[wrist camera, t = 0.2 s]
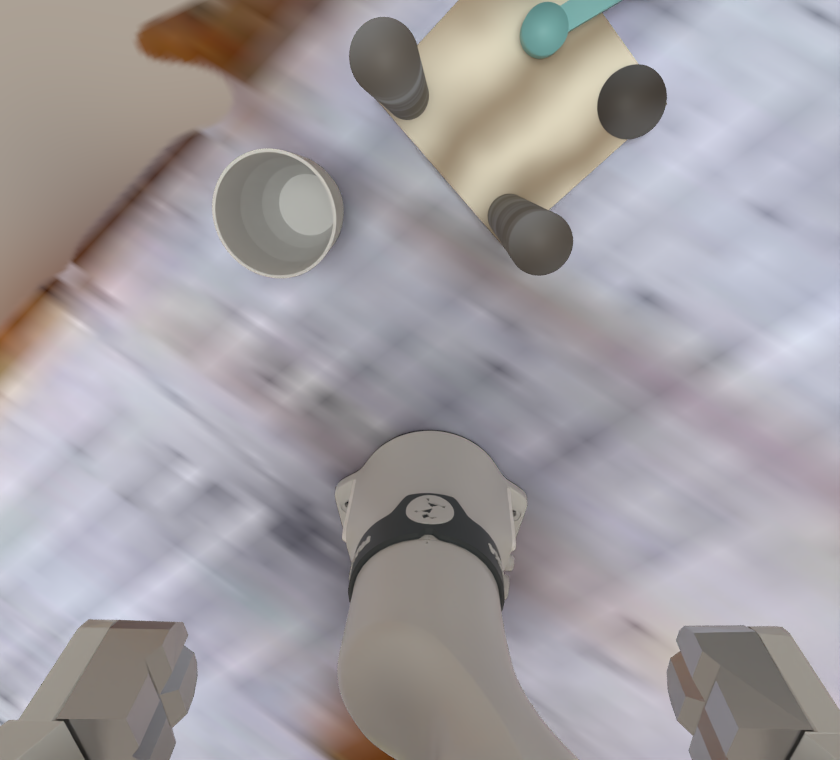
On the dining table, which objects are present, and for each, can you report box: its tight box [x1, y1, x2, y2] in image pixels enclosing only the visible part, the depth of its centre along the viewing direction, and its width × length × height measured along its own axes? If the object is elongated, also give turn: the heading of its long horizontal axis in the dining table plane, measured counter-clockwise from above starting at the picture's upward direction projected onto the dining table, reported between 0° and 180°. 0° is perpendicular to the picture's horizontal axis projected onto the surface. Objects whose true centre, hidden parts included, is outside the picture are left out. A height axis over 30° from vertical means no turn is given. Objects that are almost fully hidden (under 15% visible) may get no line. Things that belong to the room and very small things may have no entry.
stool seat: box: [349, 0, 667, 275], centre depth 34 cm, size 16×16×18 cm
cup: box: [212, 149, 344, 278], centre depth 41 cm, size 8×8×10 cm
